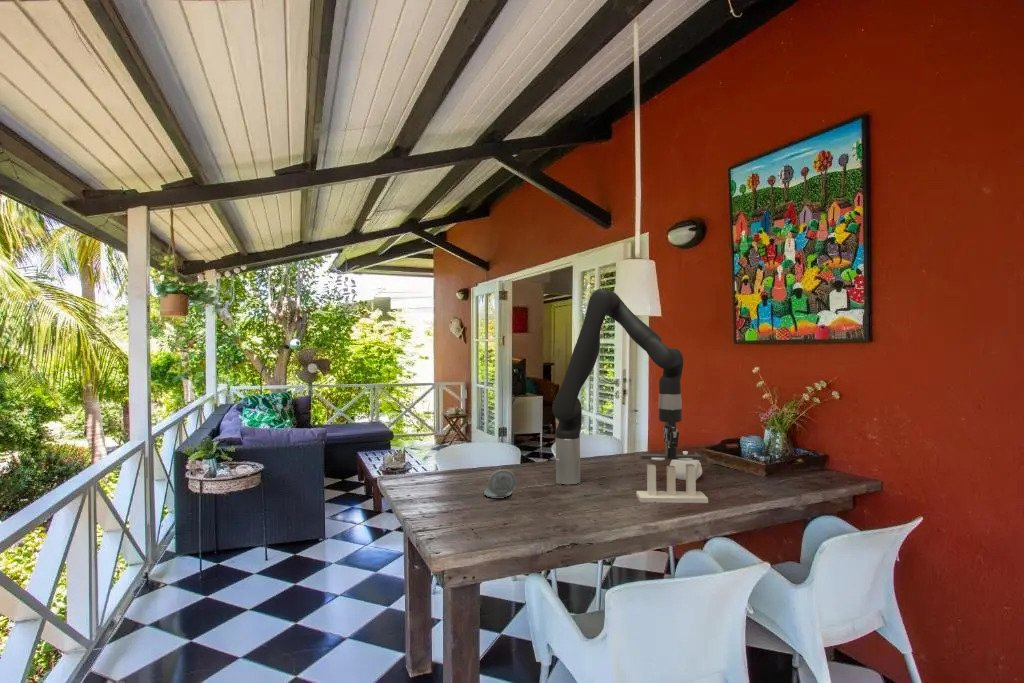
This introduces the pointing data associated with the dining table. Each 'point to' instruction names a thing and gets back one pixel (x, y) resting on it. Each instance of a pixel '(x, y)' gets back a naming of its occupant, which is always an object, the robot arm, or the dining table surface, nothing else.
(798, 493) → the dining table surface
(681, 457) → the spectacle frame
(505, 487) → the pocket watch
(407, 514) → the dining table surface
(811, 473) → the dining table surface
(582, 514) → the dining table surface
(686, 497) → the display stand
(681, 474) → the teapot
